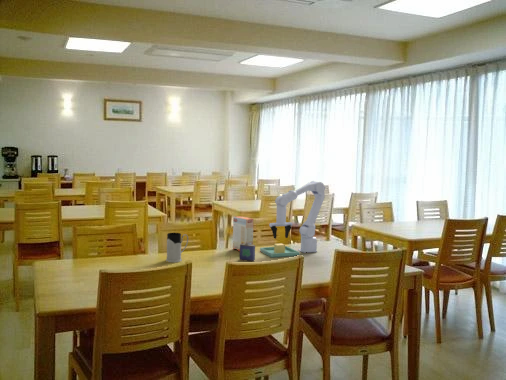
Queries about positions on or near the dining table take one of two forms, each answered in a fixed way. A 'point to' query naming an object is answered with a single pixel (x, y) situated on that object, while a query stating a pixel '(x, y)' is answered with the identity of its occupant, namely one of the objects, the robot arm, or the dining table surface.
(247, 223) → the cracker box
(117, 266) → the dining table surface
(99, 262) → the dining table surface
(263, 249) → the teal tray
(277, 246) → the ochre cube
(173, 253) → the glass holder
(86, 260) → the dining table surface
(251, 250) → the blue gift bag
